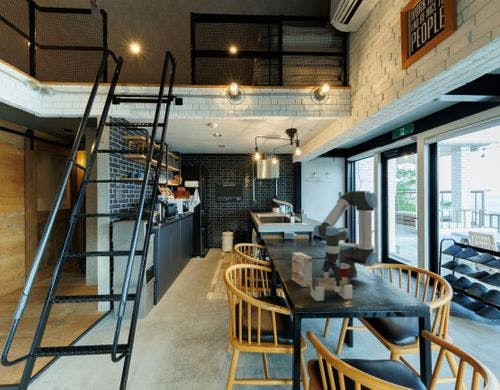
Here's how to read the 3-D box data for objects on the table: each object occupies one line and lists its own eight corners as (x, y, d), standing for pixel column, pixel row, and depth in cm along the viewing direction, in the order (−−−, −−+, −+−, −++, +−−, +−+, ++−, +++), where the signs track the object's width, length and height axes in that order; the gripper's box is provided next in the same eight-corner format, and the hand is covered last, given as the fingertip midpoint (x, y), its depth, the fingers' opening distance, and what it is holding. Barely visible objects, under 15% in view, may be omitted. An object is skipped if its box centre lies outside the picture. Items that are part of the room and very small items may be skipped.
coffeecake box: (291, 279, 178) (292, 252, 178) (300, 278, 181) (300, 251, 180) (303, 287, 164) (303, 258, 164) (312, 286, 167) (312, 257, 166)
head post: (310, 294, 152) (310, 282, 152) (318, 294, 153) (318, 281, 153) (315, 300, 145) (316, 287, 144) (323, 300, 145) (324, 286, 145)
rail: (312, 288, 150) (312, 278, 150) (345, 286, 154) (346, 276, 153) (315, 291, 146) (315, 280, 146) (349, 289, 150) (349, 279, 149)
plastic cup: (330, 279, 179) (330, 263, 179) (344, 278, 181) (344, 262, 181) (338, 285, 169) (338, 267, 168) (352, 284, 170) (353, 267, 170)
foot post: (337, 293, 155) (338, 280, 155) (345, 293, 156) (345, 280, 156) (344, 299, 147) (344, 285, 147) (352, 298, 148) (352, 285, 148)
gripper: (317, 247, 161) (316, 279, 162) (336, 258, 137) (335, 295, 137) (328, 247, 162) (327, 278, 163) (349, 257, 138) (348, 295, 138)
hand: (331, 286), depth 150 cm, fingers open, 13 cm apart
